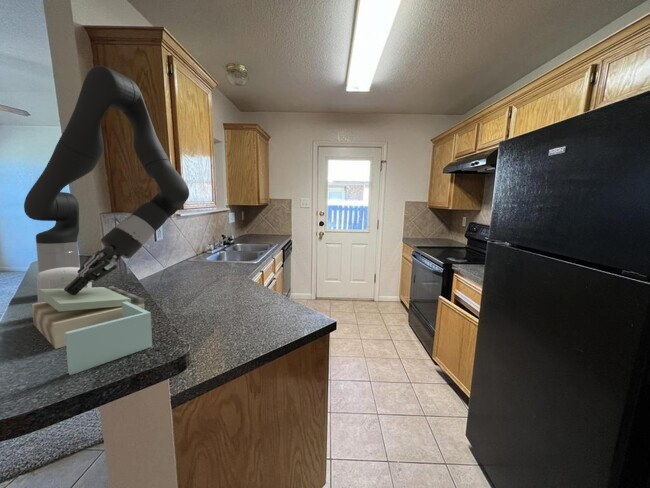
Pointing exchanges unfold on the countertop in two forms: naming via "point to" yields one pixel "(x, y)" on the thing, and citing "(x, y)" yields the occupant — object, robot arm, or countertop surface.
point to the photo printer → (57, 279)
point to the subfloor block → (75, 318)
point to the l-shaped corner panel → (109, 339)
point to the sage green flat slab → (82, 298)
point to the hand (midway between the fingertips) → (68, 292)
